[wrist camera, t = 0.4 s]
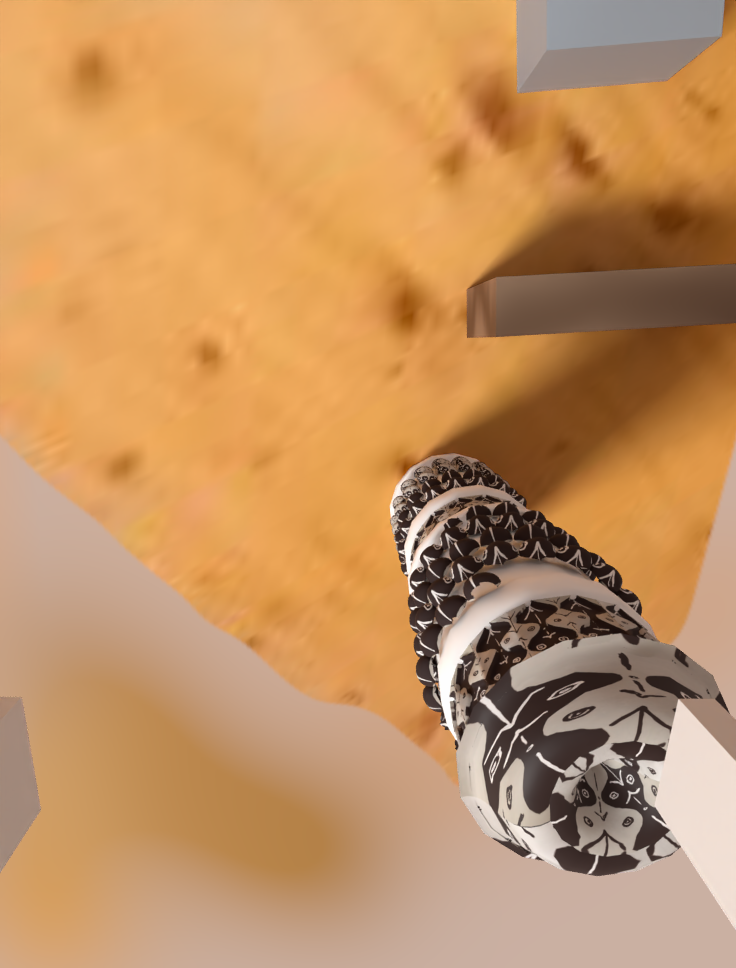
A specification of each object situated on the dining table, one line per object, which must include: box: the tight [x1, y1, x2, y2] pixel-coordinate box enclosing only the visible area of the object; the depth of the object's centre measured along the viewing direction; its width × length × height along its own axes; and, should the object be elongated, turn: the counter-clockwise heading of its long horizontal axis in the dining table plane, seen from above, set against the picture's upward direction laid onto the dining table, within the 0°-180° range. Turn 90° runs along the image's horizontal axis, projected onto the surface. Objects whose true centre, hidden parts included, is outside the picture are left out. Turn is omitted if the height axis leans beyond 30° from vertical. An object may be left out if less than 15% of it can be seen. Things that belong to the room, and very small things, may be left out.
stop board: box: [467, 264, 736, 338], centre depth 31 cm, size 3×15×7 cm, turn 93°
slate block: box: [517, 0, 725, 93], centre depth 28 cm, size 6×9×5 cm, turn 95°
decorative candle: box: [390, 453, 730, 876], centre depth 26 cm, size 9×9×25 cm
